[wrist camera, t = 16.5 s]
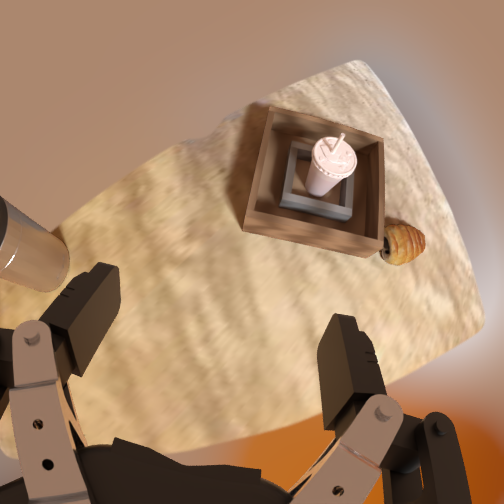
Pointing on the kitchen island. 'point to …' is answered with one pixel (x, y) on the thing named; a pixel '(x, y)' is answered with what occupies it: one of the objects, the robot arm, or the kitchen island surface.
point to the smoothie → (329, 164)
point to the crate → (307, 206)
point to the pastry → (402, 244)
